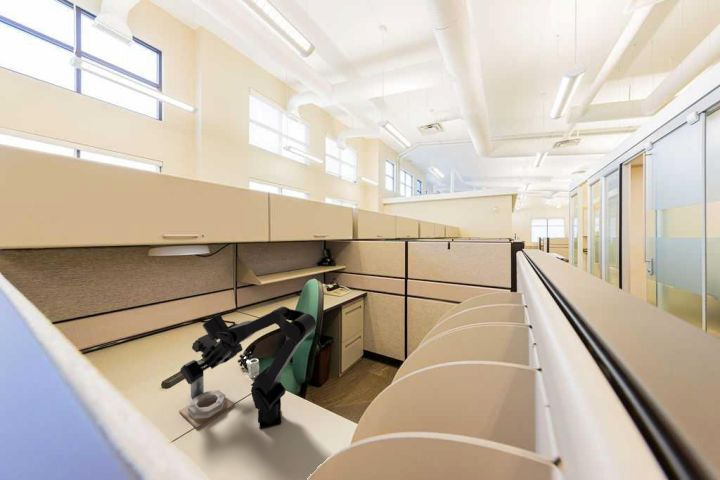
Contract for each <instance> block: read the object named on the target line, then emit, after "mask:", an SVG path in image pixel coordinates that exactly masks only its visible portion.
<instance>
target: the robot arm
mask: <svg viewBox="0 0 720 480" xmlns="http://www.w3.org/2000/svg"><path fill="white" fill-rule="evenodd" d="M275 324H276V325H277V326H278V327H279V328H280V330H281V332H282V333H285V341H284V342H283V344H282V346H281V348H280V349H279V351H278V352H277V354H276V355H275V358H274V359H273V360H272V362H271V364H270V366H269V365H268V366H267V367H266V368H265V369H263V370H262V371H260V372H259V375H257V377H256V378H254V381H253V382H252V383H251V384H250V385H251V389H250V393H251V397H252V400H253V404H254V407H255V409H256V410H257V423H258V424H259V426H258V427H259V430H262V429H265V428H271V427H275V426H278V425H281V424H282V407H281V406H282V401H281V400H282V397H283V396H285V393H286V391H287V390H286V388H285V386H284V385H283V384H282V382H281V380H282V373H283V371H284V370H285V369H286V367H287V365H288V364H289V363H290V361H291V359H292V357H293V356H294V354H295V353H296V351H297V349H298V347H300V345H301V343H302V342H304V341H305V339H306V338H307V337H309V335H310V334H311V333H313V331H314V330H315V329H316V328H317V321H316V319H315V317H314V316H313V315H312V314H310V313H305V312H303V311H301V310H295V309H290V308H289V307H287V306H280V307H277V308H276V309H274V310H272V311H270V312H269V313H266V314H265V315H262V316H261V317H258V318H256V319H253V320H246V321H242V322H240V323H233V324H230V325H229V326H228V325H227V323H226V322H225V320H224V319H223V317H222V315H221V314H217V315H214V316H213V317H212V318H210V319H209V320H207V321H206V322H204V323H203V324H202V327H203V329H204V330H205V332H206V333H207V334H205V335H202V336H200V337H198V338H197V339H196V340H195V341H194V342H192V346H191V350H193V351H194V352H195V353H199V352H201V355H200V357H201V358H202V359H204V361H203V363H202V364H200V365H199V364H198V363H197V361H198V360H195V359H193V360H191V361H189V362H187V363H185V364H184V365H182V367H180V370H179V371H180V373H181V374H182V376H183V378H184V380H185V381H186V383H188V385H191V384H192V383H194V382H196V381H197V380H199V379H200V378H201V377H202V376H203V377H204V371H206V370H208V369H211V370H213V369H214V368H216V367H218V366H219V365H221V364H225V363H228V361H231V360H232V359H233V358H235V357H236V356H237V355H238V354H239V353H241V352H242V351H243V346H242V344H241V343H242V342H244V341H245V340H247V339H248V338H251V336H253V335H255V333H257V332H260V331H262V330H264V329H266V328H268V327H270V326H273V325H275ZM218 340H219V341H218ZM201 368H202V369H201Z"/></svg>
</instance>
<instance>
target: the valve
mask: <svg viewBox="0 0 720 480" xmlns="http://www.w3.org/2000/svg"><path fill="white" fill-rule="evenodd" d="M248 356H249V357H248ZM239 358H240V359H238V360H237V363H238V364H239V366H240V367H243V366H244V367H247V369H248V377H249V378H250V379H255V378H256V377H257V375H259V374H260V360H259V359H258V358H255V356H254V355H253V353H252V351H249V352H248V351H244V352H243V354H239ZM254 376H255V377H254Z"/></svg>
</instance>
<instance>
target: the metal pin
mask: <svg viewBox="0 0 720 480" xmlns="http://www.w3.org/2000/svg"><path fill="white" fill-rule="evenodd" d="M196 361H197V363H198V364H199V365H200V364H202V363H204V361H203V360H199V359H198V360H196ZM201 369H202V368H201ZM204 379H205V378H204V375H203V376H202V377H201V378H200V379H199V380H197V381H196V382H194V383H192V384H190V398H191V399H193V398H195V397H197V396H199V395H201V394H203V393H205V385H204V384H205V383H204V382H205V381H204Z"/></svg>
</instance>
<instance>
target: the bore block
mask: <svg viewBox="0 0 720 480" xmlns="http://www.w3.org/2000/svg"><path fill="white" fill-rule="evenodd" d="M235 406H236V405H235V403H234V402H233V401H231V400H230V398H227V397H226V394H225V393H223V391H220V390H210V391H204V393H203V394H201V395H199V396H197V397H195V398H192V400H191V402H190V404H189V405H186V406H185V407H183V408H180V409H179V411H178V412H179V414H180V415H181V416H182V417H183V418H184V419H185V420H187V421H188V423H190V425H192V426H193V428H195V429H196V430H199V429H201V428H202V427H204V426H206V425H207V424H209V423H210V422H212V421H213V420H215V419H216V417H217V418H218V417H220V416H221V415H224V413H226V412H228V411H230V410H231V409H232V408H234V407H235ZM227 410H228V411H227ZM219 415H220V416H219Z"/></svg>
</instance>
